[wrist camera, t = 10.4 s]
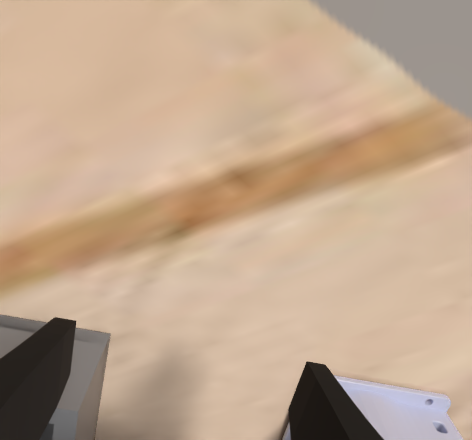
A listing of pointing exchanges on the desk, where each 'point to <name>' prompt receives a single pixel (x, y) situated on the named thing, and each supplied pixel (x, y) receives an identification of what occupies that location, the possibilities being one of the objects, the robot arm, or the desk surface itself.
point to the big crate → (78, 385)
